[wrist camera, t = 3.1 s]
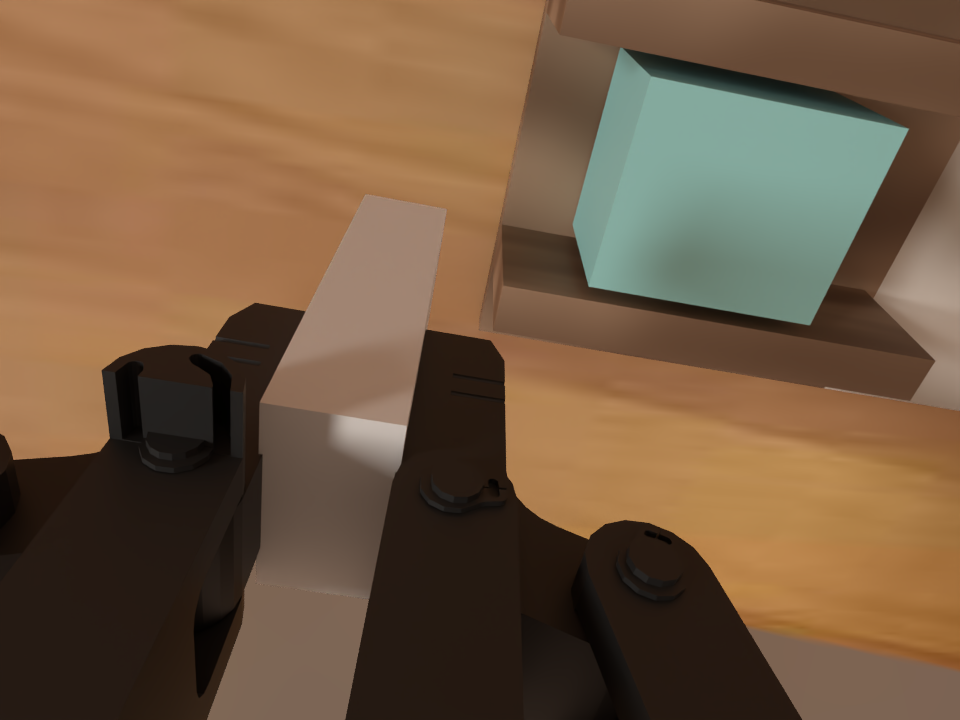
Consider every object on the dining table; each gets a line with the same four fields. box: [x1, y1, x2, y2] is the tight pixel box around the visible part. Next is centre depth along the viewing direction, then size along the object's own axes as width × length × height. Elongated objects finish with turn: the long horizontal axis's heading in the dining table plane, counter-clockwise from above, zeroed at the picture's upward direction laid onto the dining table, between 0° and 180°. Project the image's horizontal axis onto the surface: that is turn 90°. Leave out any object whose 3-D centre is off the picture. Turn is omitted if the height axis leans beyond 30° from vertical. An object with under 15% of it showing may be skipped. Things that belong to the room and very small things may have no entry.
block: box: [573, 47, 909, 325], centre depth 22 cm, size 6×7×5 cm
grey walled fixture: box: [479, 0, 960, 411], centre depth 23 cm, size 16×23×6 cm
